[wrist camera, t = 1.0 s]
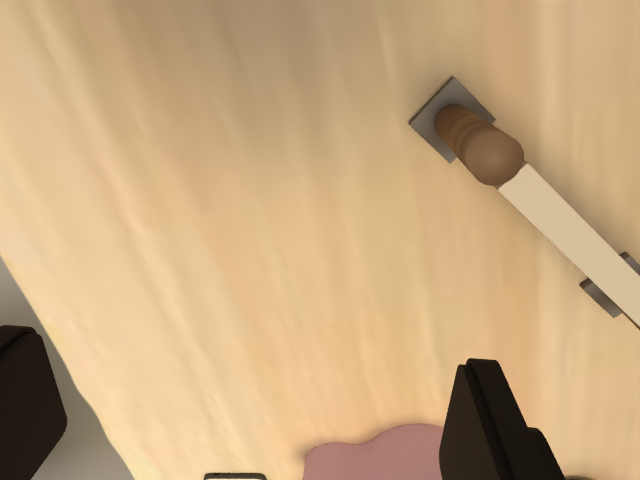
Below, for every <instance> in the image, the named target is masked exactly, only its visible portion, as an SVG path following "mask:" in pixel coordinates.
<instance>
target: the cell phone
mask: <svg viewBox="0 0 640 480" xmlns="http://www.w3.org/2000/svg"><path fill="white" fill-rule="evenodd" d="M214 474H219V475H214ZM204 480H267V479H266V477H265V475H263V474H260V473H250V474H247V473H240V474H230V473H208V474H206V475H205V477H204Z"/></svg>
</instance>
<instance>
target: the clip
mask: <svg viewBox="0 0 640 480" xmlns="http://www.w3.org/2000/svg"><path fill="white" fill-rule="evenodd" d="M443 430H444V428H442V427H439V426H434V425H428V424H409V425H403V426H398V427H395V428H392V429H389V430H387V431H385V432H383V433H381V434H379V435H378V436H377V437H375V438H374V439H373V440H371V441H369V442H367V443H364V444H357V445H354V444H347V443H336V442H335V443H326V444H323V445H320V446H317V447H315V448H314V449H312V450H311V451H310V452H309V453H308V454H307V455H306V457H305V466H304V475H303V480H442V476H441V471H440V466H439V448H440V443H441V439H442V434H443Z"/></svg>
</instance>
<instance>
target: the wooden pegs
mask: <svg viewBox="0 0 640 480" xmlns="http://www.w3.org/2000/svg"><path fill="white" fill-rule="evenodd" d="M495 120H496V119H495V118H494V117H493V116H492V115H491V114H490V113H489V112H488V111H487V110H486V109H485V108H484V107H483V106H482V105H481V104H480V103H479V102H478V101H477V100H476V99H475V97H474V96H473V95H472V94H471V93H470V92H469V91H468V90H467V89H466V88H465V87H464V86H463V85H462V84H461V83H460V82H459V81H458V80H457V79H456V78H455V77H452V78H451V79H450V80H449V81H448V82H447V83H446V84H445V85H444V86H443V87H442V88H441V90H440V91H439V92H438V93H437V94H436V95H435V96H434V97H433V98H432V99H431V100H430V101H429V102H428V103H427V104H426V105H425V106H424V108H423V109H422V110H421V111H420V112H419V113H418V114H417V115H416V116H415V117H414V118H413V119H412V120H411V121H410V122H409V125H410V126H411V127H412V128H413V129H414V130H415V131H416V132H417V133H418V134H419V135H421V136H422V137H423V138H424V139H425V140H426V141H427V142H428V143H429V144H430V145H431V146H432V147H433V148H434V149H435V150H436V151H437V152H438V153H440V154H441V155H442V156H443V157H444V158H445V159H446V160H447V161H448V162H449V163H451V162H452V161H454V160H455V159H456V158H457V157H458V158H459V159H460V160H461V162H462V163H463V164H464V165H465V166H466V167H467V169H468V170H469V171H470V172H471V173H472V174H473V175H474V177H475V178H476V179H477V180H478V181H480V182H481V183H483V184H486V185H493V186H495V185H501V184H504V183H506V182H508V181H510V180H511V179H512V178H514V177H515V176H516V175H517V173H518V172H519V171H520V169H521V167H522V164H523V160H524V153H523V149H522V147H521V145H520V144H519V143H518V142H517V141H516V140H515V139H513V138H512V137H510V136H509V135H507V134H506V133H504V132H503V131H501V130H499V129H498V128H496V127H495V126H493V125H492V123H493V122H494V121H495ZM620 257H621V258H622V259H623V260H624V261H625V262H626V263H627V264H628V265H629V266H630V267H631V268H632V269H633V270H634V271H635V272H636V273H637V274H638V275H639V276H640V265H639V264H638V263H637V262H636V261H635V260H634V259H633V258H632V257H631V256H630V255H628V254H627V253H626V252H624V253H623V254H622V255H620ZM580 286H581V287H582V289H583V290H584V291H585V292H587V293H588V294H589V295H590V296H591V297H592V298H593V299H594V300H595V301H596V302H597V303H598V304H599V305H600V306H601V307H602V308H603V309H605V310H606V311H607V312H608V313H609V314H610V315H611V316H612V317H613V318H615V317H617V316H618V315H620V314H621V313H623V314H624V315H625V316H626V317H627V318H628V319H629V320H630V321H631V322H632V323H633V324H634V325H635V326H636V327H637V328H638V329H639V330H640V326H639V325H638V324H636V323H635V322H634V321H633V320H632V319H631V318H630V317H629V316H628V315H627V314H626V313H625V312H624V311H623V310H622V309H621V308H620V307H619V306H618V305H617V304H616V303H615V302H614V301H613V300H612V299H610V298H609V297H608V296H607V295H606V294H605V293H604V292H603V291H602V290H601V289H600V288H599V287H598V286H597V285H596V284H595V283H594V282H593V281H592V280H591V279H590V278H588V279H587V280H586V281H584V282H583V283H581V284H580Z"/></svg>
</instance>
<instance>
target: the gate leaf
mask: <svg viewBox="0 0 640 480" xmlns="http://www.w3.org/2000/svg"><path fill="white" fill-rule="evenodd" d="M494 187H495V188H496V189H497V190H498V191H499V192H500V193H501V194H502V195H503V196H504V197H505V198H506V199H507V200H508V201H510V202H511V203H512V204H513V205H514V206H515V207H516V208H517V209H518V210H519V211H520V212H521V213H522V214H523V215H524V216H525V217H526V218H527V219H528V220H529V221H530V222H531V223H532V224H533V225H534V226H536V227H537V228H538V229H539V230H540V231H541V232H542V233H543V234H544V235H545V236H546V237H547V238H548V239H549V240H550V241H551V242H552V243H553V244H554V245H555V246H556V247H557V248H558V249H559V250H561V251H562V252H563V253H564V254H565V255H566V256H567V257H568V258H569V259H570V260H571V261H572V262H573V263H574V264H575V265H576V266H577V267H578V268H579V269H580V270H581V271H582V272H583V273H584V274H585V275H587V276H588V277H589V278H590V279H591V280H592V281H593V282H594V283H595V284H596V285H597V286H598V287H599V288H600V289H601V290H602V291H603V292H604V293H605V294H606V295H607V296H608V297H609V298H610V299H612V300H613V301H614V302H615V303H616V304H617V305H618V306H619V307H620V308H621V309H622V310H623V311H624V312H625V313H626V314H627V315H628V316H629V317H630V318H631V319H632V320H633V321H634V322H635V323H636V324H638V325H639V326H640V276H639V275H638V274H637V273H636V272H635V271H634V270H633V269H632V268H631V267H630V266H629V265H628V264H627V263H626V262H625V261H624V260H623V259H622V258H621V257H620V256H619V255H618V254H617V253H616V252H615V251H614V250H613V249H612V248H611V247H610V246H609V245H608V244H607V243H606V242H605V241H604V240H603V239H602V238H601V237H600V236H599V235H598V234H597V233H596V232H595V231H594V230H593V229H592V228H591V227H590V226H589V225H588V224H587V223H586V222H585V220H584V219H583V218H582V217H581V216H580V215H579V214H578V213H577V212H576V211H575V210H574V209H573V208H572V207H571V206H570V205H569V204H568V203H567V202H566V201H565V200H564V199H563V198H562V197H561V196H560V195H559V194H558V193H557V192H556V191H555V190H554V189H553V188H552V187H551V186H550V185H549V184H548V183H547V182H546V181H545V180H544V179H543V178H542V177H541V176H540V175H539V174H538V173H537V172H536V171H535V170H534V169H533V168H532V167H531V166H530V165H529V164H528V163H527V162H525V161H524V160H523V164H522V167H521V169H520V171H519V172H518V173H517V175H516V176H515V177H514V178H512V179H511V180H510V181H508V182H506V183H504V184H501V185H495V186H494Z"/></svg>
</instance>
